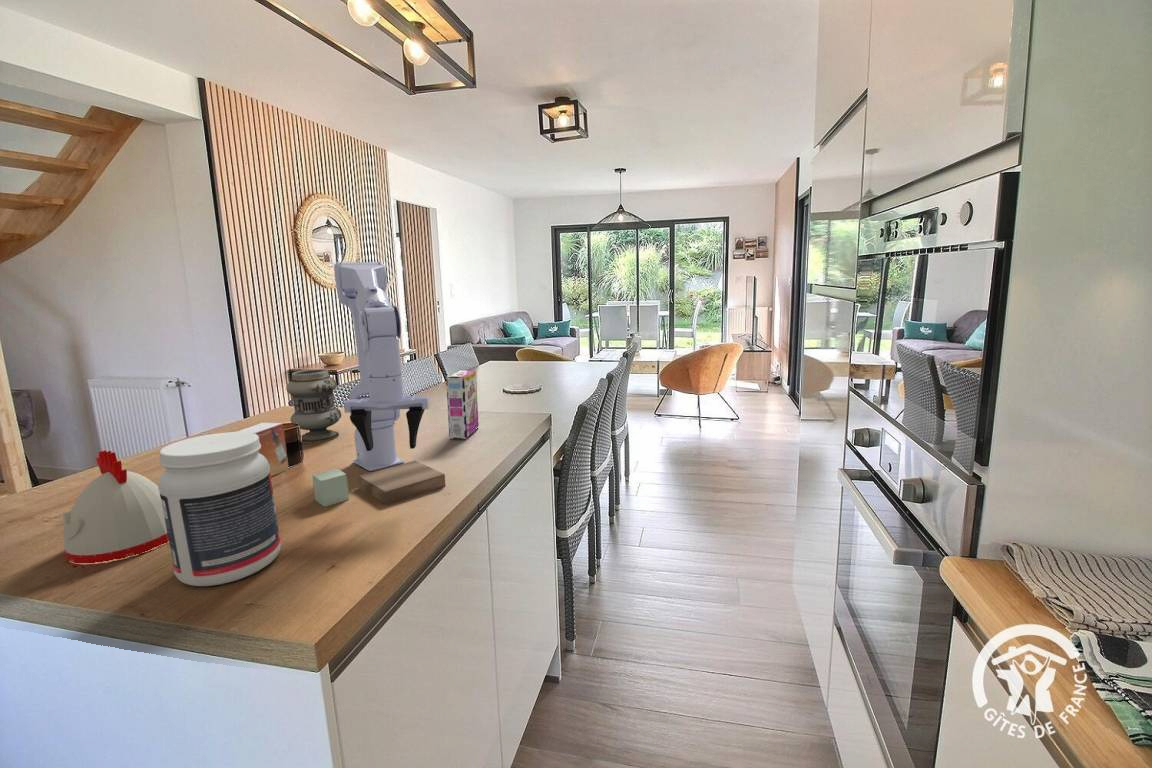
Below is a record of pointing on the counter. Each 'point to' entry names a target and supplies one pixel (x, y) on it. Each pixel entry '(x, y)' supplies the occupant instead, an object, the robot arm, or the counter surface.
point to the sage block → (330, 487)
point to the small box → (271, 445)
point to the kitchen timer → (114, 516)
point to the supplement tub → (218, 508)
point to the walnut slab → (401, 481)
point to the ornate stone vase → (314, 404)
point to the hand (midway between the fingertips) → (391, 448)
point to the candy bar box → (462, 404)
